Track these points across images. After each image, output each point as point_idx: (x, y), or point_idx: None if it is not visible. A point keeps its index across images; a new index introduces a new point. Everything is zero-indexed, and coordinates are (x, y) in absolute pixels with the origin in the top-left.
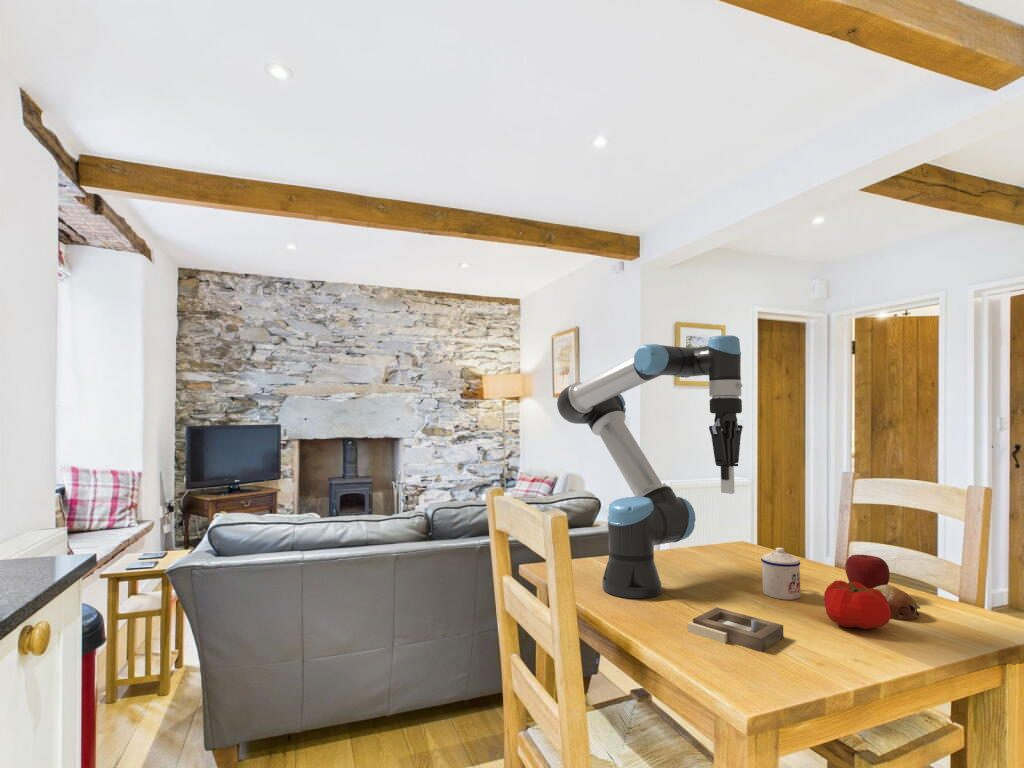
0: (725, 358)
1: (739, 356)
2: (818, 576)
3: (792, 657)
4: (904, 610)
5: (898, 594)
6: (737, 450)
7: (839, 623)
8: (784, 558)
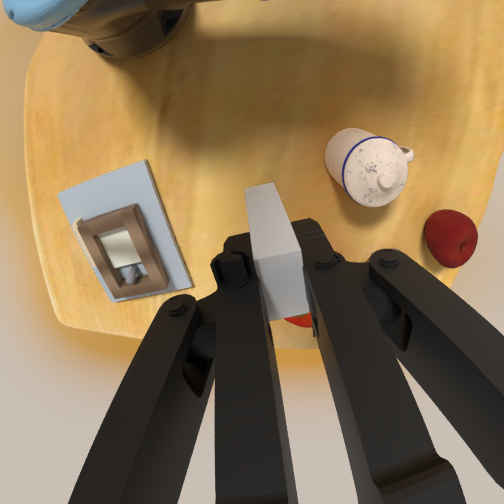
0: None
1: None
2: (468, 144)
3: (155, 294)
4: None
5: None
6: (418, 375)
7: None
8: (366, 193)
